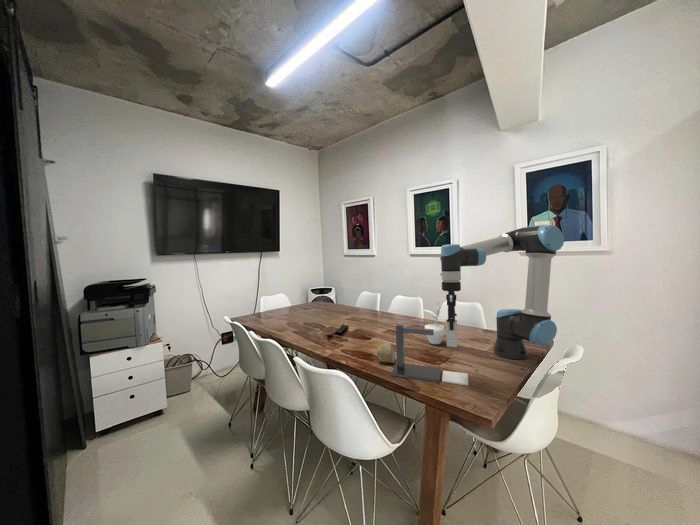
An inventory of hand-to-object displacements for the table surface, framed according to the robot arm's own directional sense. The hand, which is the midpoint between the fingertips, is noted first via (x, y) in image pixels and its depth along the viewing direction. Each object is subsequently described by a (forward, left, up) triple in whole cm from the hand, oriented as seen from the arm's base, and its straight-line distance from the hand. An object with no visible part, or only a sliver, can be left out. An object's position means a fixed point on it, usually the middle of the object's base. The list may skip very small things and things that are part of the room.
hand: (452, 334), depth 115 cm
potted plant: (+11, -44, -19) cm, 49 cm away
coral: (+31, -9, -19) cm, 38 cm away
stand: (+15, 0, -19) cm, 24 cm away
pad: (-1, 0, -19) cm, 19 cm away
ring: (0, 0, -4) cm, 4 cm away
